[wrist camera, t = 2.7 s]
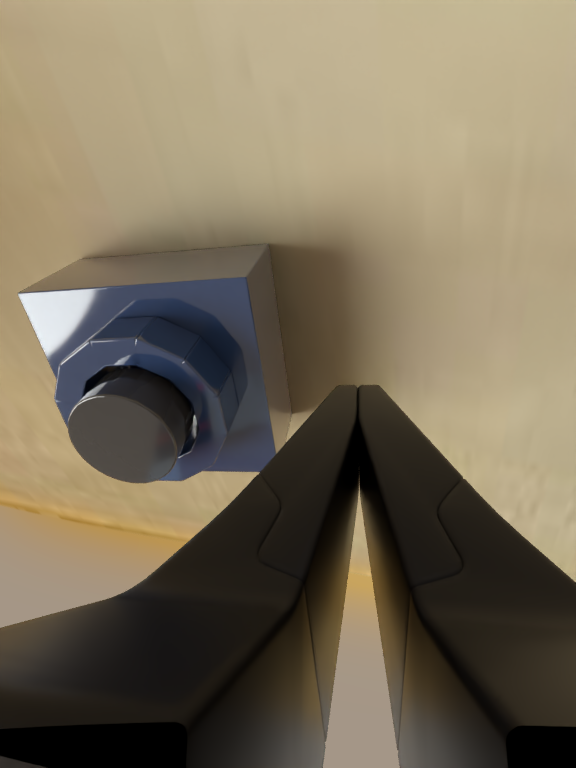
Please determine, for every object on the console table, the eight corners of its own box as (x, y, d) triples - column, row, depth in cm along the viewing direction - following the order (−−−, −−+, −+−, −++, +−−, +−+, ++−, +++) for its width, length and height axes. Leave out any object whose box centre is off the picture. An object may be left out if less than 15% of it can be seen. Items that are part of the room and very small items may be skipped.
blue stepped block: (292, 414, 26) (272, 504, 20) (136, 416, 28) (75, 499, 22) (268, 243, 21) (232, 297, 15) (79, 258, 23) (-20, 312, 17)
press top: (203, 451, 19) (188, 485, 18) (113, 451, 20) (90, 483, 19) (179, 365, 17) (159, 394, 15) (78, 368, 18) (48, 396, 16)
